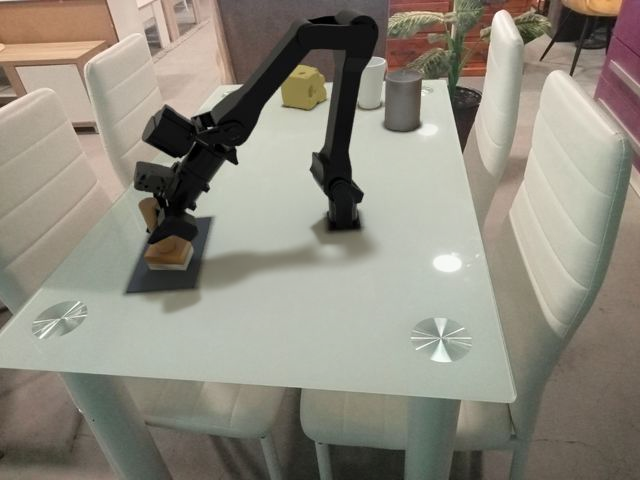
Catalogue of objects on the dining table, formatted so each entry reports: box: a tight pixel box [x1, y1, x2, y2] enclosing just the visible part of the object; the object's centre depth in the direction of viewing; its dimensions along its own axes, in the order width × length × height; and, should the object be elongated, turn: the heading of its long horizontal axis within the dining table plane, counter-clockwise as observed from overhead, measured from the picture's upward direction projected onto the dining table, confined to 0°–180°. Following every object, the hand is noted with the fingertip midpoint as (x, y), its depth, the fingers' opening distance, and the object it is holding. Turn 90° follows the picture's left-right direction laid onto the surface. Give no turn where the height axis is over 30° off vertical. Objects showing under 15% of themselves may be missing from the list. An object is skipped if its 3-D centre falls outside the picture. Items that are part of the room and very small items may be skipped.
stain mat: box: [125, 216, 212, 294], centre depth 93 cm, size 22×12×1 cm, turn 2°
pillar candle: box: [384, 68, 423, 132], centre depth 129 cm, size 10×10×15 cm
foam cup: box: [357, 56, 387, 110], centre depth 143 cm, size 10×9×13 cm
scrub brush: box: [137, 196, 194, 270], centre depth 86 cm, size 7×5×14 cm
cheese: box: [280, 64, 328, 111], centre depth 149 cm, size 10×11×10 cm
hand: (148, 237), depth 85 cm, fingers closed on scrub brush, 3 cm apart
